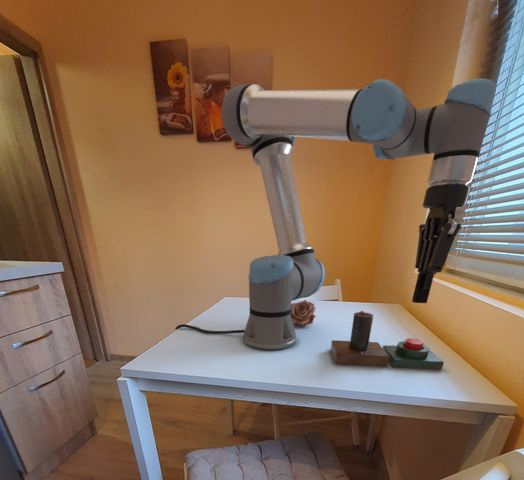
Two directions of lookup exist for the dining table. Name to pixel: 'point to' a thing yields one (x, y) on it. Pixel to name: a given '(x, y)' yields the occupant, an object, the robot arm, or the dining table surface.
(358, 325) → the dark brown cylinder
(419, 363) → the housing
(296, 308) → the flower
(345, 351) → the brown wooden block
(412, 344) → the button
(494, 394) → the dining table surface
